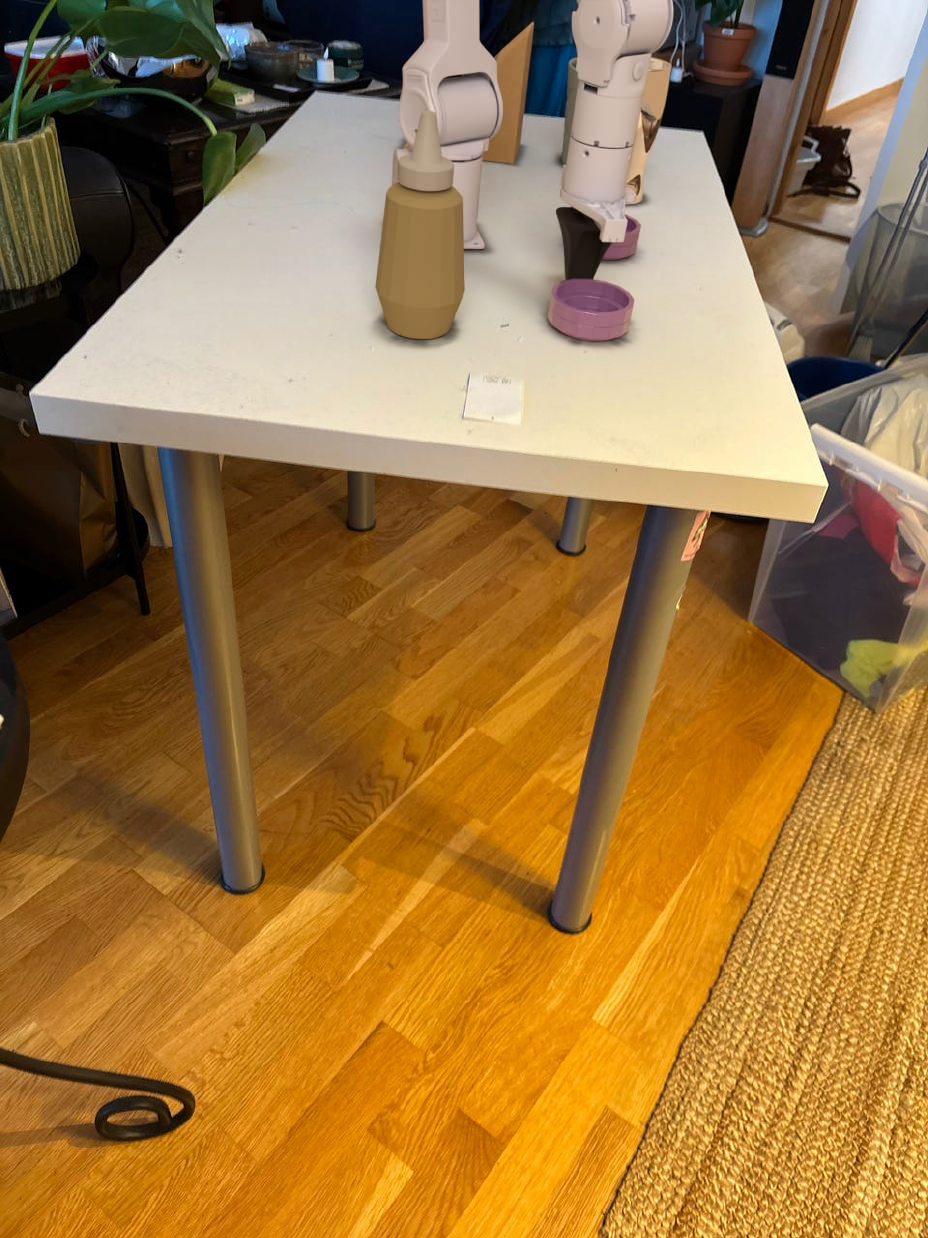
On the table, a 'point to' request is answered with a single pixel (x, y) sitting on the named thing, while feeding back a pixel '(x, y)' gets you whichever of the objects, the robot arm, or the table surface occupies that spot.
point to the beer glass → (648, 122)
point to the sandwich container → (510, 97)
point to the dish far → (625, 242)
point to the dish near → (590, 309)
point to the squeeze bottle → (422, 241)
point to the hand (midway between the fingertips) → (577, 288)
